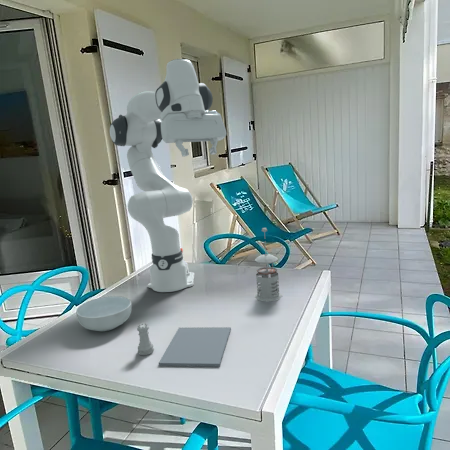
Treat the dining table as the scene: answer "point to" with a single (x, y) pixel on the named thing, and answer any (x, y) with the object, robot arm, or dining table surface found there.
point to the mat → (196, 347)
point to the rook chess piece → (144, 340)
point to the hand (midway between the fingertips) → (200, 154)
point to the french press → (267, 278)
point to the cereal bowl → (104, 313)
